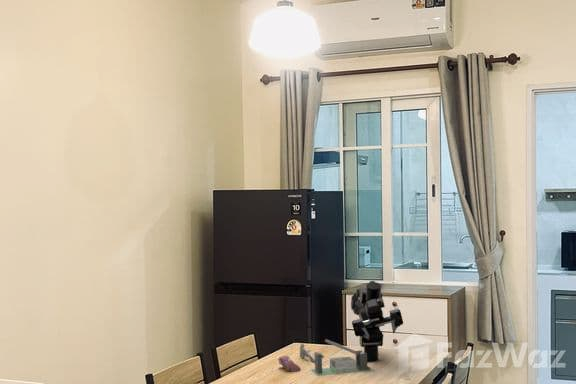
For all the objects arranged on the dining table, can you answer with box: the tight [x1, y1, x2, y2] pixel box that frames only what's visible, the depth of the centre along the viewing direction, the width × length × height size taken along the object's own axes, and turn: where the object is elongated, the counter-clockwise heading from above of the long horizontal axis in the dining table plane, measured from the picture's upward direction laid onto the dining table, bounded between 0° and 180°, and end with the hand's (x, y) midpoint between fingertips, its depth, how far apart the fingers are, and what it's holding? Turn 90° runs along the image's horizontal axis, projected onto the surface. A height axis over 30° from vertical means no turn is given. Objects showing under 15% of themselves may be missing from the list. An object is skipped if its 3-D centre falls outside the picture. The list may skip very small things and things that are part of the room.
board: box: [310, 367, 374, 377], centre depth 255 cm, size 10×22×1 cm, turn 104°
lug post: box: [314, 351, 325, 373], centre depth 253 cm, size 4×2×7 cm, turn 14°
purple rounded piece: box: [278, 354, 301, 372], centre depth 259 cm, size 10×5×7 cm, turn 23°
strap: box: [324, 338, 361, 356], centre depth 255 cm, size 3×16×2 cm, turn 104°
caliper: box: [299, 343, 315, 364], centre depth 273 cm, size 20×1×6 cm, turn 22°
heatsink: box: [329, 356, 357, 374], centre depth 255 cm, size 8×8×4 cm
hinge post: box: [355, 350, 371, 371], centre depth 257 cm, size 7×4×6 cm, turn 14°
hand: (381, 335), depth 246 cm, fingers open, 9 cm apart
